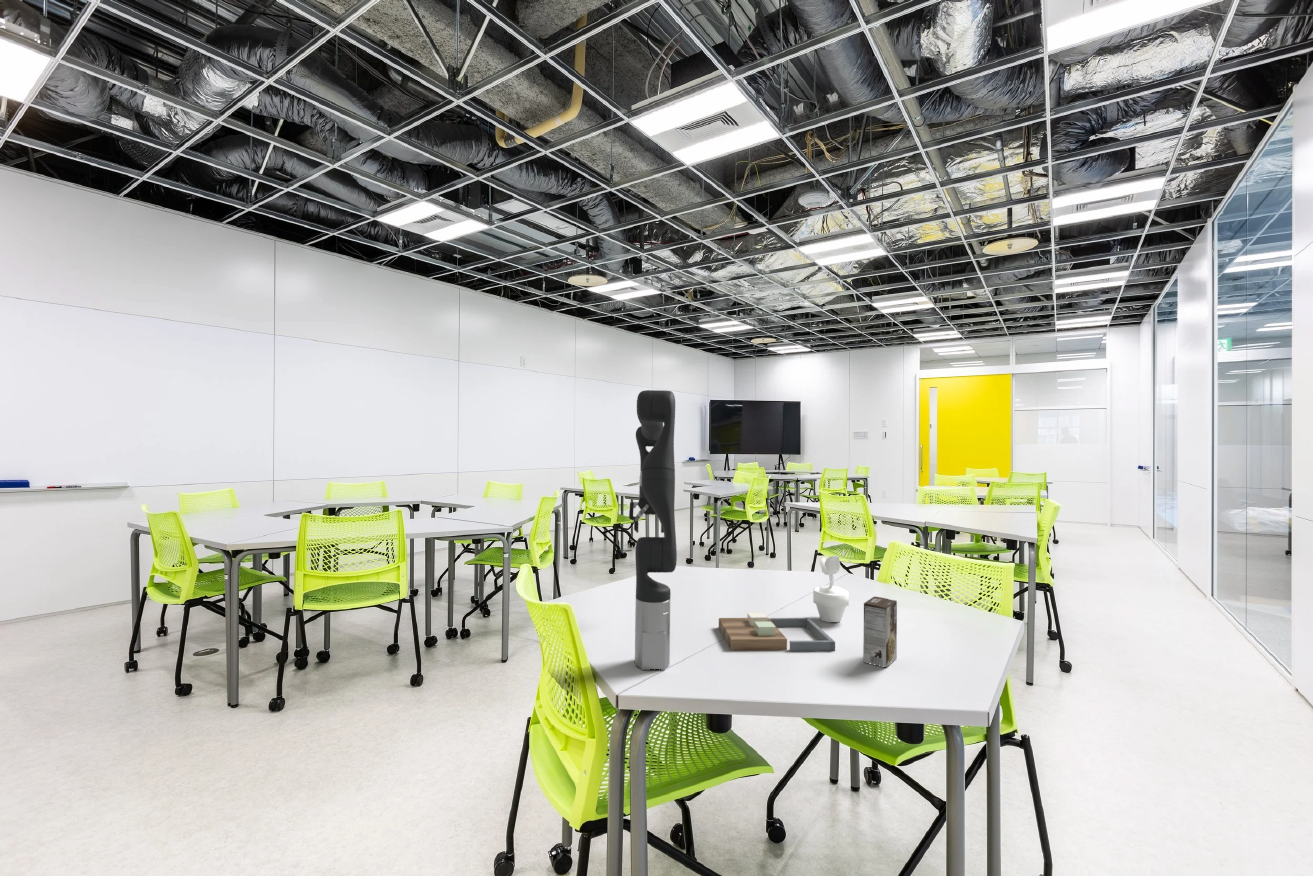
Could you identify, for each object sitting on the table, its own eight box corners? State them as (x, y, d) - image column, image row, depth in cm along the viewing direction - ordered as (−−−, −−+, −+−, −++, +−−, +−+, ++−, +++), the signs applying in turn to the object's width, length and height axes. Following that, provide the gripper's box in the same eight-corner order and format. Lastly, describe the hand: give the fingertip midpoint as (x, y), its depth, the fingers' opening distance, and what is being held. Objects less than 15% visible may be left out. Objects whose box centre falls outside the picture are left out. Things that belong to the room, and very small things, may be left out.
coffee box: (873, 653, 160) (874, 595, 160) (897, 659, 156) (898, 600, 156) (862, 662, 153) (862, 602, 153) (886, 668, 149) (887, 607, 149)
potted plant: (853, 626, 184) (854, 548, 184) (817, 625, 184) (818, 548, 184) (841, 614, 197) (842, 542, 197) (808, 613, 197) (808, 541, 197)
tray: (835, 650, 162) (835, 641, 162) (790, 651, 161) (791, 642, 161) (808, 625, 184) (808, 617, 184) (769, 625, 183) (769, 618, 183)
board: (786, 649, 162) (787, 639, 162) (731, 650, 161) (731, 639, 161) (768, 627, 182) (768, 617, 182) (718, 627, 181) (718, 618, 181)
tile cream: (767, 625, 174) (767, 617, 174) (751, 625, 173) (751, 617, 173) (763, 620, 179) (763, 612, 179) (747, 620, 178) (747, 612, 178)
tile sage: (775, 635, 165) (775, 626, 165) (758, 635, 164) (758, 627, 164) (770, 630, 170) (770, 621, 170) (754, 630, 169) (754, 621, 169)
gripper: (629, 485, 189) (629, 534, 189) (672, 485, 190) (671, 534, 190) (629, 483, 197) (628, 530, 196) (670, 484, 198) (669, 531, 197)
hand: (649, 532), depth 193 cm, fingers open, 8 cm apart
